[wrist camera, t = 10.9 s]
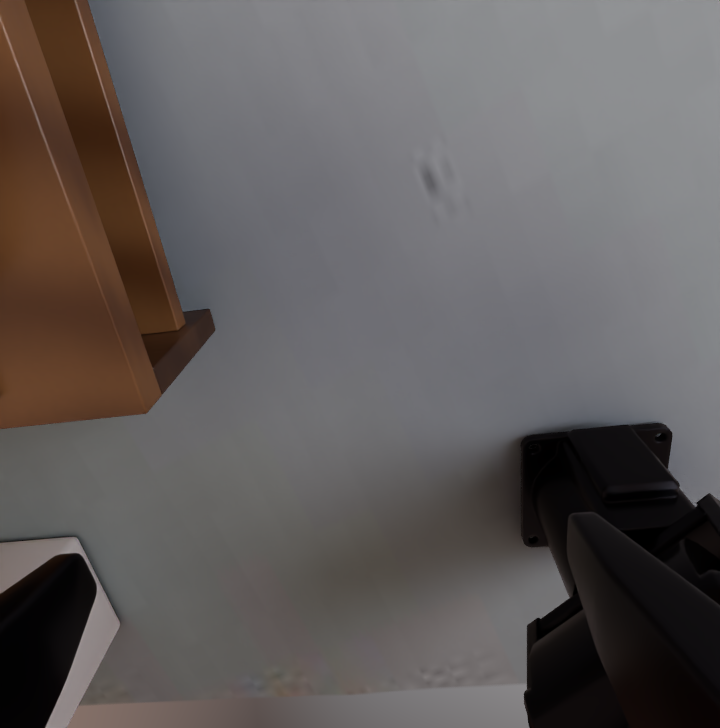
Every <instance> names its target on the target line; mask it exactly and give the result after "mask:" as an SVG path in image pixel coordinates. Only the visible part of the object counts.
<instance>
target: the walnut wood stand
mask: <svg viewBox="0 0 720 728" xmlns="http://www.w3.org/2000/svg"><path fill="white" fill-rule="evenodd" d="M214 331H215V326H214V323H213V319H212V315H211V312H210V309H205V310H197V311H189V312H182V309H181V306H180V302H179V299H178V296H177V293H176V289H175V286H174V283H173V279H172V276H171V273H170V270H169V266H168V263H167V260H166V257H165V253H164V250H163V247H162V243H161V240H160V237H159V234H158V230H157V227H156V224H155V220H154V217H153V214H152V211H151V207H150V204H149V201H148V197H147V194H146V191H145V188H144V184H143V181H142V178H141V174H140V171H139V168H138V165H137V161H136V158H135V155H134V152H133V148H132V145H131V142H130V138H129V135H128V132H127V129H126V125H125V122H124V119H123V115H122V112H121V109H120V106H119V102H118V99H117V96H116V92H115V89H114V86H113V83H112V79H111V76H110V73H109V69H108V66H107V63H106V60H105V56H104V53H103V50H102V47H101V43H100V40H99V37H98V33H97V30H96V27H95V24H94V20H93V17H92V14H91V10H90V7H89V4H88V1H87V0H0V429H5V428H15V427H24V426H34V425H43V424H53V423H62V422H71V421H81V420H90V419H100V418H109V417H119V416H128V415H138V414H146V413H148V411H149V410H150V409H151V408H152V406H153V405H154V404H155V403H156V402H157V400H158V399H159V398H160V397H161V394H163V393H164V392H165V391H166V389H167V388H168V387H169V386H170V385H171V383H172V382H173V381H174V380H175V379H176V377H177V376H178V375H179V374H180V373H181V371H182V370H183V369H184V368H185V366H186V365H187V364H188V363H189V362H190V360H191V359H192V358H193V357H194V356H195V354H196V353H197V352H198V351H199V350H200V348H201V347H202V346H203V345H204V343H205V342H206V341H207V340H208V339H209V337H210V336H211V335H212V334H213V333H214Z"/></svg>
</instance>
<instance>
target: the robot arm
mask: <svg viewBox="0 0 720 728" xmlns="http://www.w3.org/2000/svg"><path fill="white" fill-rule="evenodd" d="M658 433H661V435H660V436H658V437H655V436H656V435H657V434H658ZM671 442H672V432H671V431H670V430H669V429H668V428H667V426H666V425H664V424H662V423H653V424H642V425H632V426H629V425H620V426H610V427H599V428H588V429H578V430H572V431H568V432H558V433H547V434H536V435H530V436H527V437H525V438H524V439H523V440H522V442H521V536H522V539H523V542H524V544H525V545H526V546H528V547H545V546H549V548H550V550H551V553H552V555H553V558H554V560H555V563H556V565H557V568H558V570H559V573H560V575H561V578H562V580H563V583H564V585H565V588H566V590H567V593H568V595H569V597H570V598H569V599H568V600H566V601H565V602H564V603H562V604H561V605H560V606H558V607H557V608H555V609H554V610H553V611H551V612H550V613H548V614H547V615H546V616H544V617H543V618H542V619H540V618H537V619H535V620H534V621H533V622H531V623H530V624H528V625H527V690H526V691H525V693H524V704H525V708H526V711H527V715H528V723H529V727H530V728H720V501H719V500H718V499H717V498H715V497H714V496H713V495H711V494H710V493H709V494H708V495H706V496H705V497H703V498H702V499H701V500H699V501H698V502H697V505H698V506H697V507H695V506H694V505H693V504H692V503H691V502H690V500H689V499H688V498H687V497H686V496H685V494H684V493H683V492H682V491H681V490H680V488H679V486H680V485H679V483H678V481H677V480H676V479H675V478H674V477H673V475H672V474H671V473H670V472H669V471H668V470H667V469H668V463H669V456H670V449H671ZM533 444H536V445H537V446H536V447H535V448H532V449H530V448H529V447H530V446H531V445H533ZM531 536H535V537H533V538H530V537H531ZM96 593H97V585H96V581H95V579H94V577H93V575H92V573H91V571H90V569H89V567H88V565H87V563H86V561H85V559H84V558H83V556H82V555H80V554H79V553H68V554H59V555H56V556H54V557H52V558H51V559H49V560H48V561H47V562H45V563H44V564H42V565H41V566H39V567H38V568H37V569H35V570H34V571H32V572H31V573H29V574H28V575H27V576H25V577H24V578H22V579H21V580H19V581H18V582H17V583H15V584H14V585H12V586H11V587H9V588H8V589H7V590H5V591H4V592H2V593H1V594H0V728H45V727H46V725H47V723H48V720H49V718H50V716H51V714H52V712H53V709H54V707H55V705H56V703H57V701H58V698H59V696H60V694H61V692H62V689H63V687H64V684H65V682H66V680H67V677H68V674H69V672H70V669H71V667H72V664H73V661H74V658H75V655H76V652H77V649H78V647H79V644H80V641H81V638H82V635H83V632H84V629H85V627H86V624H87V621H88V618H89V615H90V612H91V609H92V607H93V604H94V601H95V598H96Z"/></svg>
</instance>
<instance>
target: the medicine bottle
mask: <svg viewBox="0 0 720 728" xmlns="http://www.w3.org/2000/svg"><path fill="white" fill-rule="evenodd" d="M68 553H79V554H80V555H82V556H83V558H84V559H85V561H86V563H87V565H88V567H89V569H90V571H91V573H92V575H93V577H94V579H95V581H96V585H97V593H96V598H95V601H94V604H93V607H92V609H91V612H90V615H89V618H88V621H87V624H86V627H85V629H84V632H83V635H82V638H81V641H80V644H79V647H78V649H77V652H76V655H75V658H74V661H73V664H72V667H71V669H70V672H69V674H68V677H67V680H66V682H65V684H64V687H63V689H62V692H61V694H60V696H59V698H58V701H57V703H56V705H55V707H54V709H53V712H52V714H51V716H50V718H49V720H48V723H47V725H46V727H45V728H67V726H68V724H69V722H70V720H71V718H72V716H73V715H74V713H75V711H76V709H77V707H78V705H79V703H80V701H81V699H82V697H83V696H84V694H85V692H86V690H87V688H88V686H89V684H90V682H91V680H92V678H93V676H94V675H95V673H96V671H97V669H98V667H99V665H100V663H101V661H102V659H103V657H104V656H105V654H106V652H107V650H108V648H109V646H110V644H111V642H112V640H113V638H114V636H115V635H116V633H117V631H118V629H119V627H120V621H119V619H118V617H117V615H116V613H115V612H114V610H113V608H112V606H111V604H110V602H109V600H108V598H107V596H106V594H105V592H104V590H103V588H102V586H101V584H100V582H99V580H98V578H97V576H96V574H95V572H94V570H93V568H92V566H91V564H90V562H89V560H88V558H87V556H86V554H85V552H84V550H83V548H82V546H81V544H80V542H79V540H78V539H77V538H76V537H63V538H51V539H40V540H28V541H16V542H5V543H0V594H1V593H2V592H4V591H5V590H7V589H8V588H9V587H11V586H12V585H14V584H15V583H17V582H18V581H19V580H21V579H22V578H24V577H25V576H27V575H28V574H29V573H31V572H32V571H34V570H35V569H37V568H38V567H39V566H41V565H42V564H44V563H45V562H47V561H48V560H49V559H51V558H52V557H54V556H56V555H59V554H68Z"/></svg>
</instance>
